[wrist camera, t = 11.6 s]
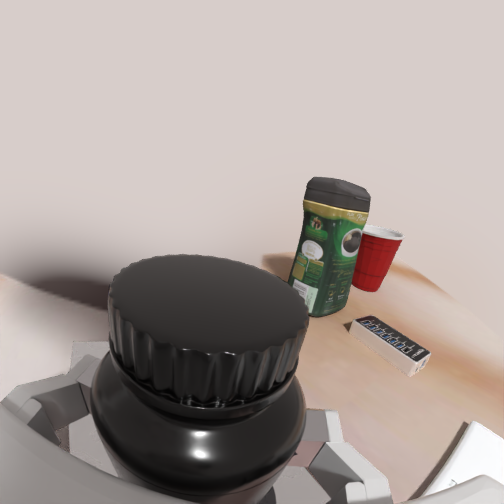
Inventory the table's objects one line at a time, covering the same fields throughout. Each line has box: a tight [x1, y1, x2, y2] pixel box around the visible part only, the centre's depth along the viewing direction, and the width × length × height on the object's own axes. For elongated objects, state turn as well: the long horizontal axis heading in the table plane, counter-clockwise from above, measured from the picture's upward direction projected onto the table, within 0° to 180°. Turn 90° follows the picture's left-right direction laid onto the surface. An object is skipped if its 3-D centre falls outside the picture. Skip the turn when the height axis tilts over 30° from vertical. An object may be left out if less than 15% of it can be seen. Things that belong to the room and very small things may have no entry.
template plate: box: [69, 341, 331, 504], centre depth 15 cm, size 14×20×2 cm
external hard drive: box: [419, 421, 504, 498], centre depth 9 cm, size 2×8×12 cm
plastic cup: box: [352, 224, 405, 292], centre depth 50 cm, size 11×11×12 cm
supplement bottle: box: [90, 254, 309, 504], centre depth 8 cm, size 7×7×12 cm
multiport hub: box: [349, 315, 431, 377], centre depth 29 cm, size 4×11×2 cm, turn 27°
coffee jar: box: [288, 177, 371, 317], centre depth 37 cm, size 10×8×19 cm
